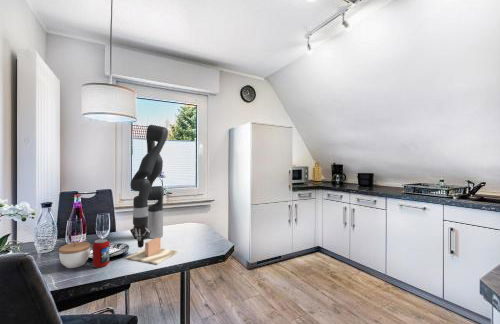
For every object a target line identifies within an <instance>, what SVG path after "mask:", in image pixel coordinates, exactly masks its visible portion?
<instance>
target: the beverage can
mask: <svg viewBox="0 0 500 324" xmlns="http://www.w3.org/2000/svg"><path fill="white" fill-rule="evenodd" d="M109 263H110V242H109V240H108V239H107V238H98V239H95V240H94V242H93V244H92V266H93V267H95V268H104V267H105V266H107V265H108V264H109Z"/></svg>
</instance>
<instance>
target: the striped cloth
mask: <svg viewBox="0 0 500 324" xmlns="http://www.w3.org/2000/svg"><path fill="white" fill-rule="evenodd" d="M176 253H177V254H178V253H179V251H178V250H173V249H168V248H167V249H166V248H161V247H160V251H158V252H156V253H154V254H153V255H151V256H149V257H148V256H145V248H143V249H141V250H138V251H136V252H134V253H132V254H130V255H127V256H126V257H125V259H126V260H132V261H138V262H141V263H148V264H152V265H157V266H158V265H160V264H161V263H163V262H164V261H166V260H168V259H170V258H172V257H173V256H175V255H176Z"/></svg>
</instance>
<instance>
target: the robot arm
mask: <svg viewBox="0 0 500 324" xmlns="http://www.w3.org/2000/svg"><path fill="white" fill-rule="evenodd" d="M145 134H146V137H145V138H146V146H147V148H146V150H147V151H146V152H147V153H146V154H145V155H144V156H143V157H142V160H141V162H140V164H139V168H138V170H137V171H136V173H135V174H134V175H133V177H132V179H131V182H130V189H131V190H132V191H133V192H138V195H136V196H134V197H133V202H132V203H133V208H132V225H133V228H131V229H130V230H129V231H130V233H131V236H132V237H133V239H134V240H136V241H137V248H138V249H140V248H143V247H145V242H144V241H145V240H146V239H148V238H149V239H155V238H157V237H158V238H162V237H163V235H164V225H163V224H164V188H163V186H162V185H153V183H154V182H155V181H156V180H157V178H158V177H159V176H160V175H161V173H162V171H163V164H164V160H163V158H162V156H161V152H162V149H163V148H164V146H165V144H166V141H167V139H168V136H169V130H168V128H166V127H165V126H161V125H157V124H156V125H155V124H149V125H147V128H146V133H145ZM156 142H157V143H156ZM148 201H156V202H154V203H153V204H151V205H149V204H148Z"/></svg>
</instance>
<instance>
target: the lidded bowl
mask: <svg viewBox="0 0 500 324" xmlns="http://www.w3.org/2000/svg"><path fill="white" fill-rule="evenodd" d="M91 247H92V243H91V242H89V241H88V242H87V241H74V242H72V243H68V244H65V245H62V246H61V247H59V248H58V257H59V261H60V263H61V264H62V266H64V267H66V269H75V268H78V267H81V266H83V265H85V263H86V262H87V260H88V259H89V258H90V255H91Z"/></svg>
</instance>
